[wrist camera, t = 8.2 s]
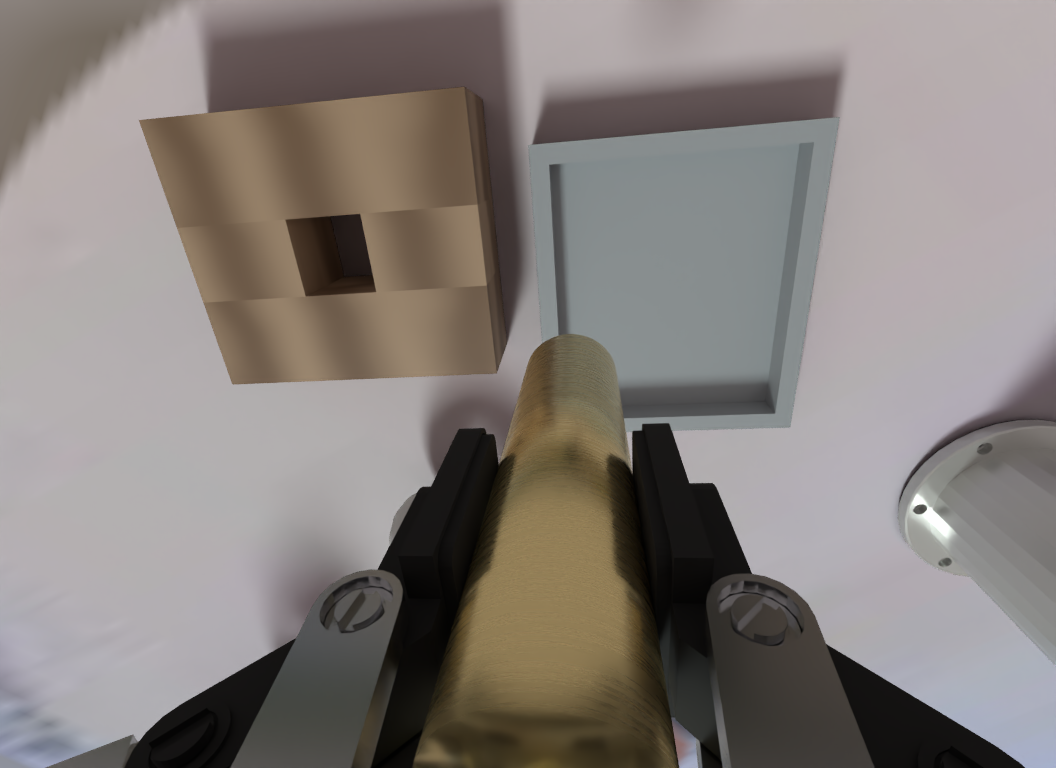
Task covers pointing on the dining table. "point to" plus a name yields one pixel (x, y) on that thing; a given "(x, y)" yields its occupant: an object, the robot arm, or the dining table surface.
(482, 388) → the dining table surface
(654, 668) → the pin
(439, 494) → the robot arm
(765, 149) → the tray
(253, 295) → the pin block
